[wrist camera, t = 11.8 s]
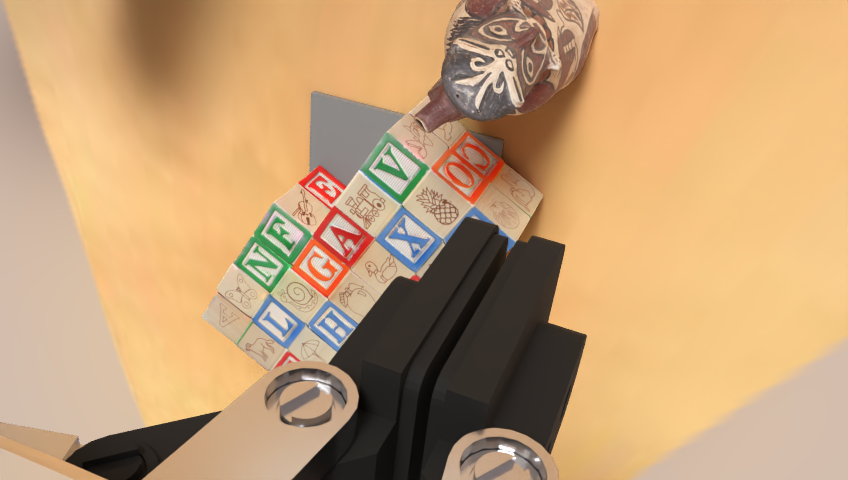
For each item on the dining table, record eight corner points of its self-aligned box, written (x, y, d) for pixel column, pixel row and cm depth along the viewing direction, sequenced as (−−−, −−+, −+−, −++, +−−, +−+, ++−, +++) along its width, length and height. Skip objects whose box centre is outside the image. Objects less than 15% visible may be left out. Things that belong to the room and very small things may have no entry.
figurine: (622, 55, 41) (572, 141, 32) (509, 108, 45) (434, 199, 36) (560, -71, 40) (487, -20, 30) (447, -4, 43) (351, 60, 34)
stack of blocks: (548, 194, 46) (389, 59, 46) (520, 245, 41) (340, 94, 41) (373, 374, 59) (247, 269, 59) (334, 429, 54) (197, 315, 54)
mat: (503, 140, 46) (501, 142, 46) (452, 445, 60) (450, 448, 60) (314, 90, 50) (311, 92, 49) (307, 390, 64) (304, 394, 63)
